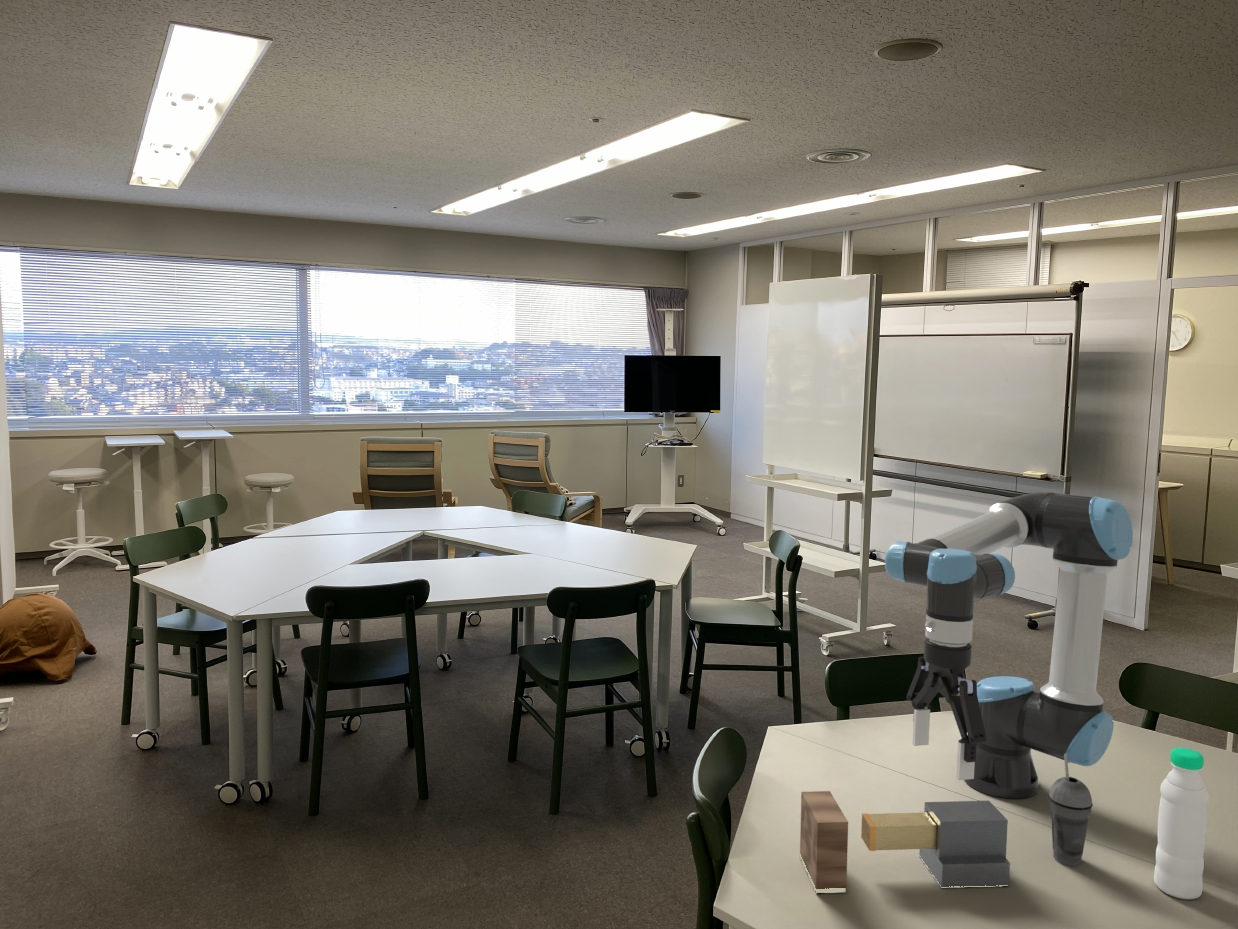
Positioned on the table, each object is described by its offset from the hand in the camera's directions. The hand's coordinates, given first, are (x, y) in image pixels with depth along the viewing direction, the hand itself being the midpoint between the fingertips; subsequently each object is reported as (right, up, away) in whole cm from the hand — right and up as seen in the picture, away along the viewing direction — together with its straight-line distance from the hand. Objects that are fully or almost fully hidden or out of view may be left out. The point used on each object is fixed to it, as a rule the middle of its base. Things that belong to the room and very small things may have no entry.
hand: (941, 761), depth 150 cm
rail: (-1, -17, +6) cm, 18 cm away
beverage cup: (+27, -22, +11) cm, 37 cm away
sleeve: (+6, -22, +7) cm, 24 cm away
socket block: (-19, -23, +6) cm, 30 cm away
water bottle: (+42, -23, +2) cm, 48 cm away
